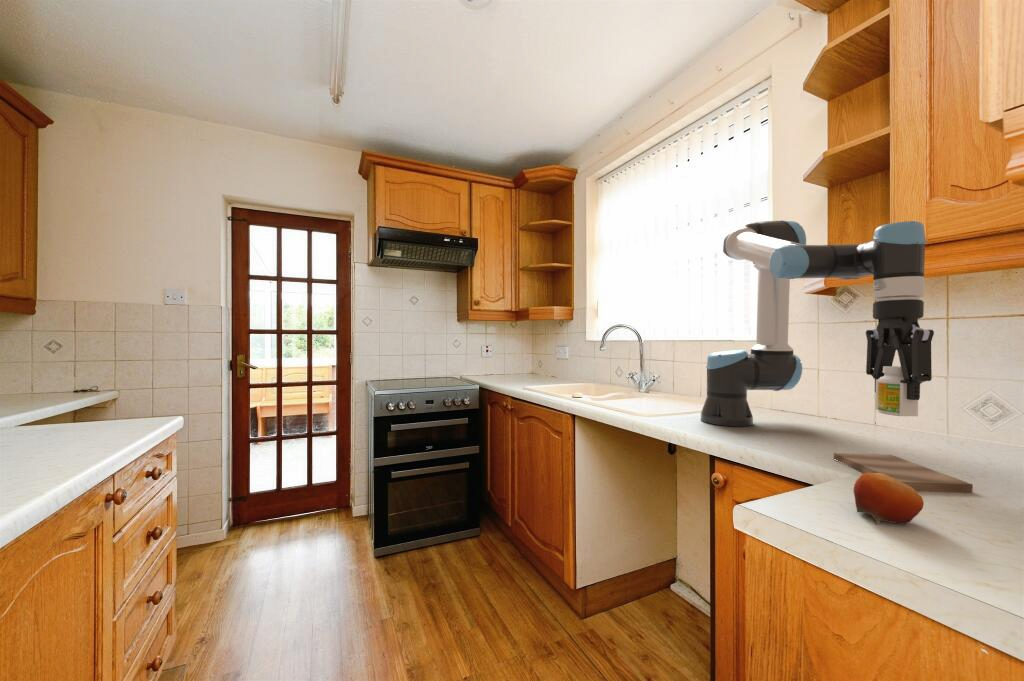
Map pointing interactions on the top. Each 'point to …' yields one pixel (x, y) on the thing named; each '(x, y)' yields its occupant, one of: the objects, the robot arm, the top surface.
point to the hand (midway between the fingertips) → (895, 412)
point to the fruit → (886, 498)
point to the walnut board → (904, 472)
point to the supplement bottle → (890, 390)
